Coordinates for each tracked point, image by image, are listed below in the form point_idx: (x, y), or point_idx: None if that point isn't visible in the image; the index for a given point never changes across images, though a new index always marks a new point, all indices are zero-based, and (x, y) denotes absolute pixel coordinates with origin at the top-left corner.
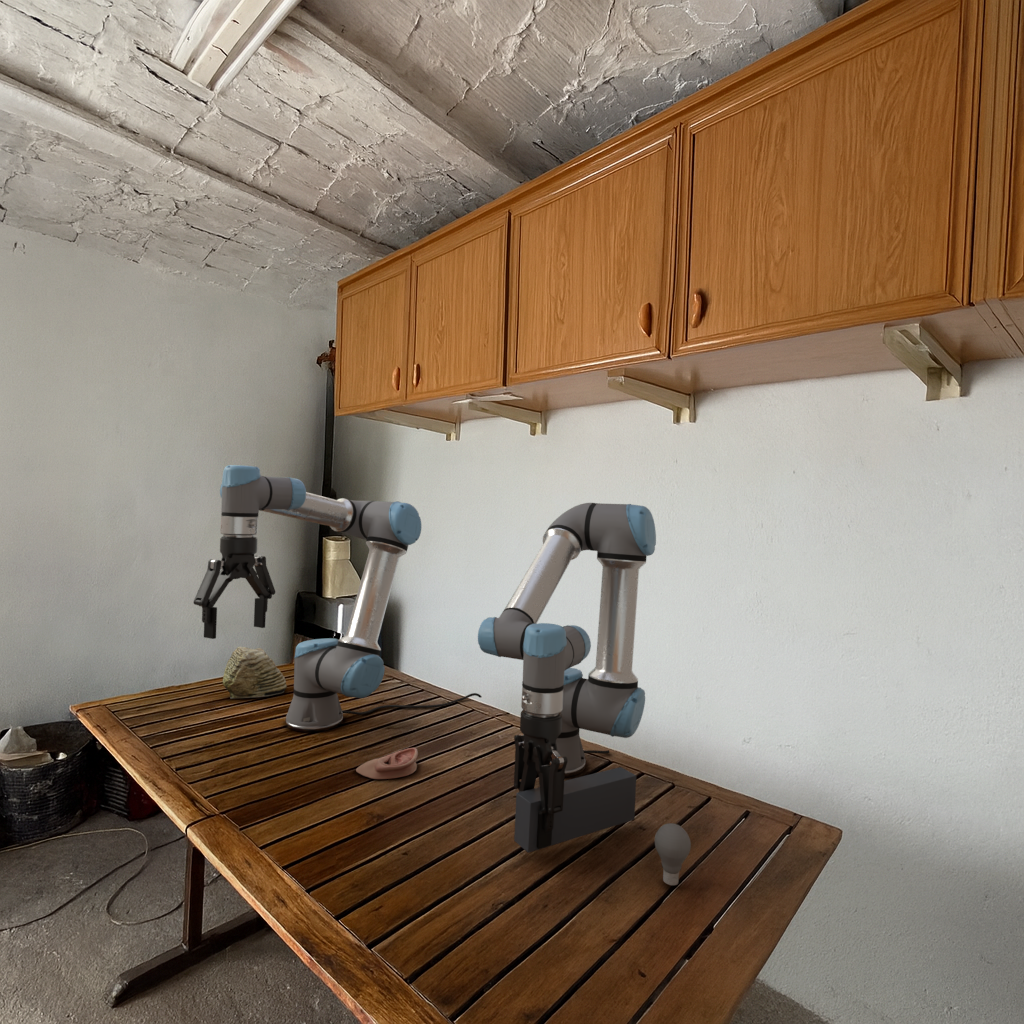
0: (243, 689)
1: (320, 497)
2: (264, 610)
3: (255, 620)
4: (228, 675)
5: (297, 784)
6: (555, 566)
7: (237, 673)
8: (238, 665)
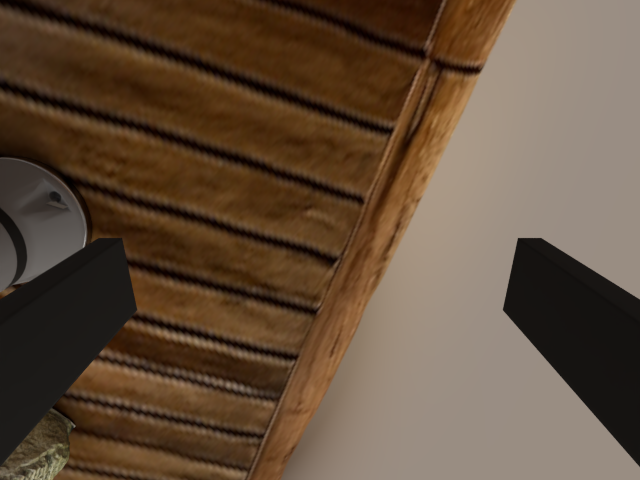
0: (47, 422)
1: None
2: (14, 302)
3: (112, 322)
4: (50, 468)
5: (268, 12)
6: None
7: (36, 458)
8: (21, 474)
